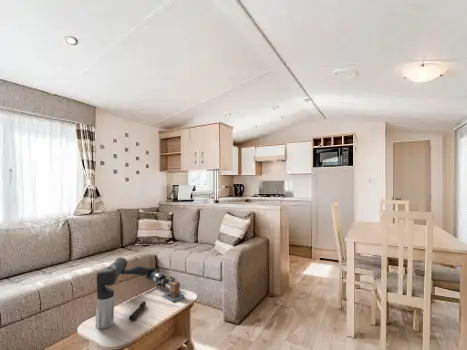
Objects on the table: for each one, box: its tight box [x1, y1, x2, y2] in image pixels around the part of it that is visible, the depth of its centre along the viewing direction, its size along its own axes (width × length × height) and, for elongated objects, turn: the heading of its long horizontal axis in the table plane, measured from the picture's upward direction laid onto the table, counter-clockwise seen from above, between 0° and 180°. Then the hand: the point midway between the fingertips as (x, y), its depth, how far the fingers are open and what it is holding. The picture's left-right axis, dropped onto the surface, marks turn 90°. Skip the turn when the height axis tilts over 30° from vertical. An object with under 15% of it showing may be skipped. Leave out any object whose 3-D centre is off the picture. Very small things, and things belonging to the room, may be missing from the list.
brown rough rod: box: [128, 300, 147, 322], centre depth 169 cm, size 19×4×5 cm, turn 171°
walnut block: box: [169, 280, 181, 299], centre depth 190 cm, size 5×5×11 cm
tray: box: [165, 292, 185, 303], centre depth 190 cm, size 10×10×2 cm
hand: (170, 284), depth 196 cm, fingers open, 8 cm apart
